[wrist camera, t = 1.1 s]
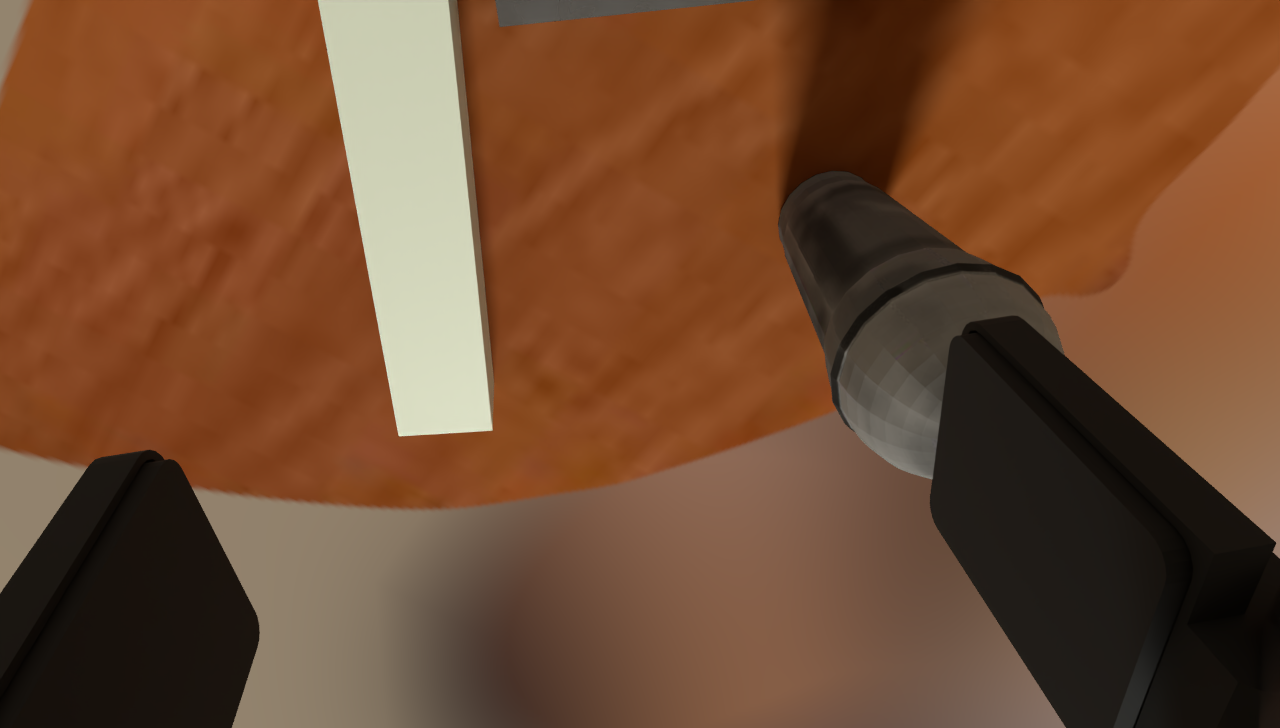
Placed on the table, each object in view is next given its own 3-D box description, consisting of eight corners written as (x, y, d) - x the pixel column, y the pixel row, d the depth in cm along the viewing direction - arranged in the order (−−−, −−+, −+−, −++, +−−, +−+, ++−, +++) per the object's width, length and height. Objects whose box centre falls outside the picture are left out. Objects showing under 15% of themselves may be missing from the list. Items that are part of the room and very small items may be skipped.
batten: (314, -174, 26) (286, -173, 23) (441, -171, 27) (430, -169, 23) (408, 383, 38) (398, 436, 35) (494, 378, 39) (492, 430, 36)
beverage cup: (857, 102, 33) (1191, 383, 17) (935, 225, 37) (1272, 554, 20) (715, 213, 35) (890, 563, 19) (802, 319, 39) (1013, 689, 22)
